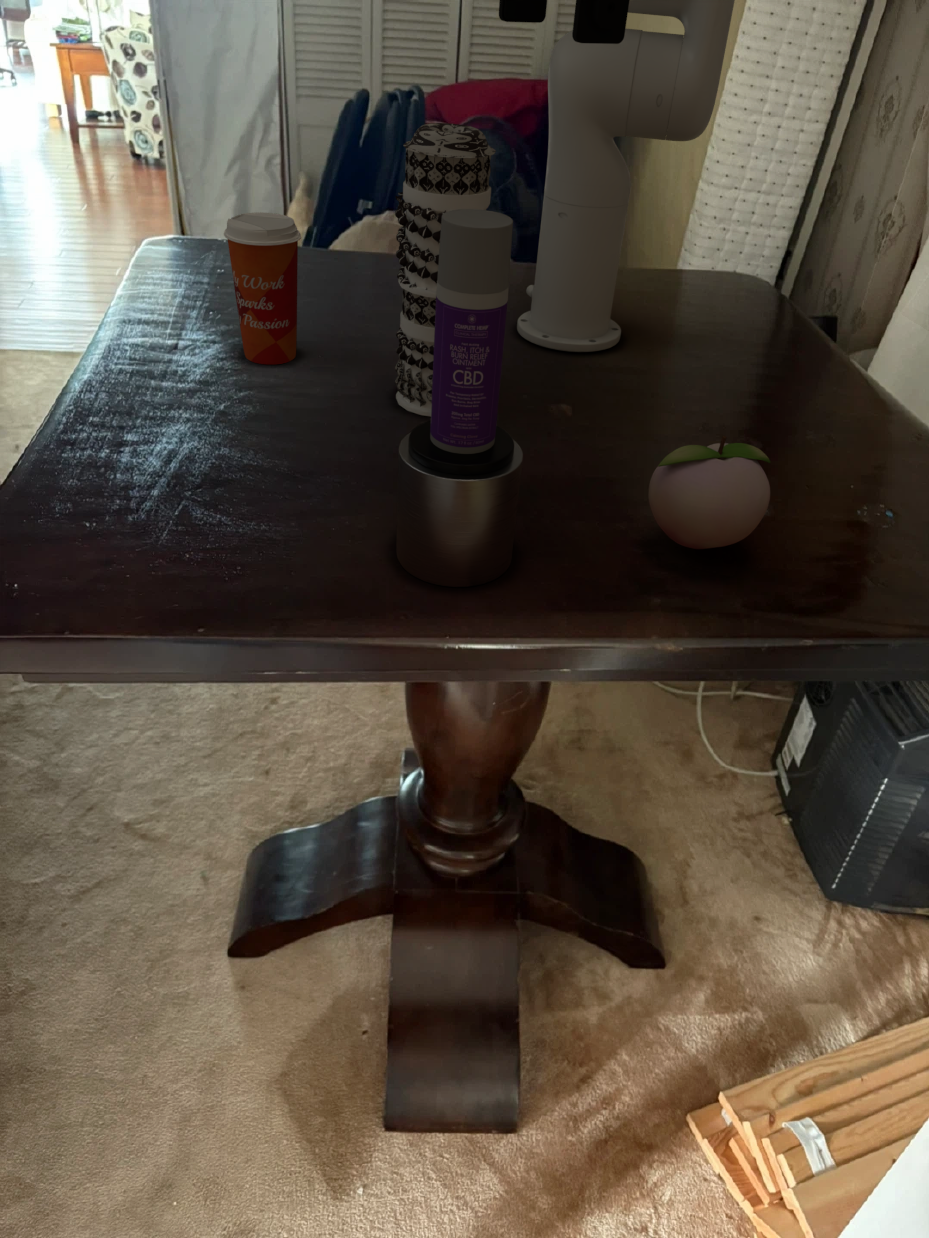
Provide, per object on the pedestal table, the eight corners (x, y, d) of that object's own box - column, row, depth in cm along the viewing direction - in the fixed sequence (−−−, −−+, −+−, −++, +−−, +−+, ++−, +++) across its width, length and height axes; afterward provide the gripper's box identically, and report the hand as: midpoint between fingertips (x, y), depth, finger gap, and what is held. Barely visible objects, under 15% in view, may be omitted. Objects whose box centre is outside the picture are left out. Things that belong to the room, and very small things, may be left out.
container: (447, 459, 63) (461, 231, 54) (418, 430, 67) (426, 210, 57) (506, 448, 65) (529, 226, 56) (475, 421, 68) (492, 206, 59)
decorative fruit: (678, 589, 70) (707, 472, 64) (622, 534, 76) (644, 422, 70) (776, 567, 73) (813, 454, 67) (715, 516, 79) (744, 408, 73)
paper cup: (220, 359, 99) (207, 223, 91) (259, 337, 105) (249, 207, 97) (283, 374, 97) (275, 236, 89) (319, 350, 103) (315, 219, 94)
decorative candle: (373, 397, 94) (374, 123, 79) (436, 374, 100) (448, 115, 85) (436, 427, 89) (451, 143, 74) (499, 402, 95) (524, 133, 80)
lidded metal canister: (379, 535, 73) (380, 421, 67) (481, 516, 77) (490, 406, 71) (422, 597, 67) (427, 478, 61) (531, 574, 70) (546, 459, 64)
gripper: (461, -354, 51) (446, 13, 61) (626, -421, 39) (572, 52, 49) (578, -333, 54) (545, 16, 64) (767, -389, 41) (688, 53, 52)
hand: (557, 31), depth 57 cm, fingers open, 9 cm apart
